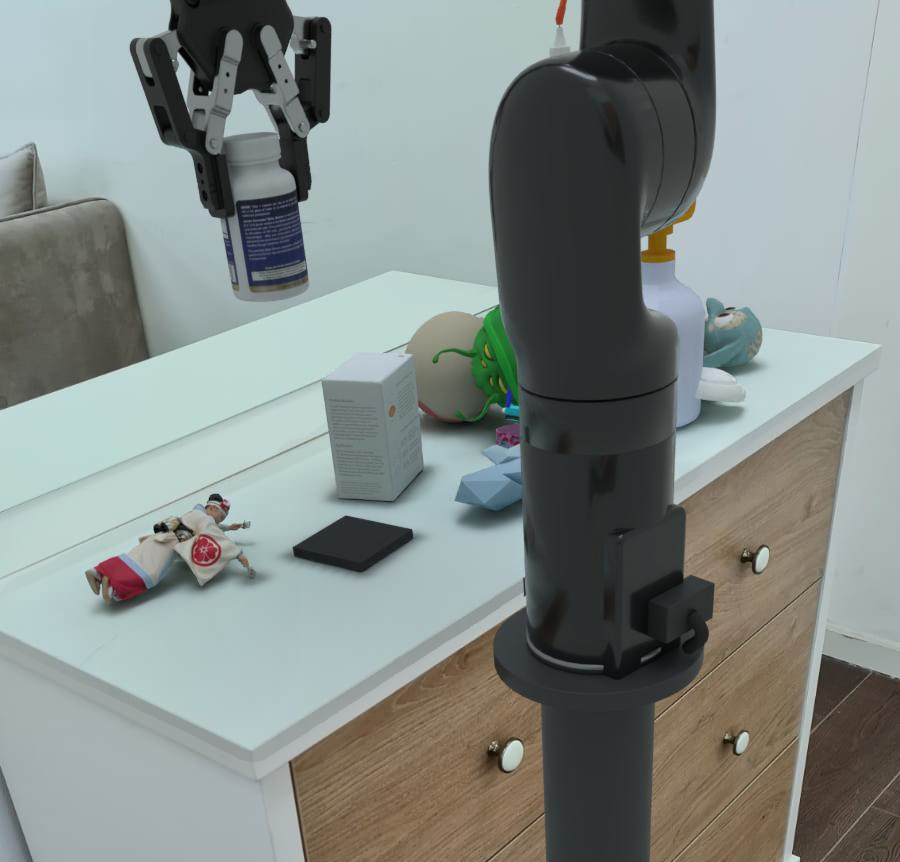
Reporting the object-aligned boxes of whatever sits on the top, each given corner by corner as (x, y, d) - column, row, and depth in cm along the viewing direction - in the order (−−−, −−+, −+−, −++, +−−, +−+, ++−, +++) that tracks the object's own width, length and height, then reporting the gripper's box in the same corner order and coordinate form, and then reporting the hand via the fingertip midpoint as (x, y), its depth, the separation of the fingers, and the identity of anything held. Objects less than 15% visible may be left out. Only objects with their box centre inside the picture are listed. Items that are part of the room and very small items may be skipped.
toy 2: (468, 258, 112) (423, 312, 121) (413, 344, 108) (370, 392, 117) (547, 328, 115) (497, 375, 124) (496, 414, 111) (448, 456, 120)
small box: (370, 466, 110) (356, 350, 104) (425, 469, 108) (415, 351, 102) (335, 499, 104) (318, 378, 98) (394, 502, 102) (380, 380, 96)
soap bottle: (587, 422, 114) (585, 136, 100) (643, 396, 119) (649, 120, 105) (662, 439, 109) (672, 140, 95) (718, 411, 114) (735, 123, 100)
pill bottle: (325, 286, 83) (305, 129, 77) (277, 306, 79) (252, 143, 74) (267, 281, 85) (243, 129, 80) (218, 300, 82) (189, 142, 76)
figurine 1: (152, 639, 86) (299, 545, 94) (79, 554, 86) (232, 467, 94) (140, 673, 92) (280, 581, 99) (72, 593, 92) (216, 507, 99)
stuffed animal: (659, 296, 130) (768, 276, 124) (669, 361, 133) (776, 346, 127) (630, 322, 122) (744, 303, 116) (641, 391, 126) (753, 376, 120)
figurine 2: (413, 325, 107) (478, 264, 99) (526, 303, 116) (594, 245, 107) (470, 454, 108) (538, 404, 100) (577, 423, 117) (648, 374, 108)
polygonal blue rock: (533, 497, 107) (533, 436, 105) (595, 503, 102) (597, 439, 100) (431, 513, 98) (429, 447, 96) (494, 520, 93) (494, 451, 91)
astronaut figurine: (701, 391, 122) (707, 360, 121) (759, 405, 112) (766, 371, 110) (625, 384, 120) (629, 353, 118) (677, 398, 109) (682, 363, 108)
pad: (413, 538, 96) (412, 528, 95) (362, 572, 91) (360, 562, 91) (346, 523, 99) (345, 514, 99) (293, 556, 95) (292, 547, 94)
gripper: (137, -106, 63) (199, 235, 73) (346, -118, 70) (377, 194, 80) (72, -96, 68) (139, 224, 78) (275, -108, 75) (312, 186, 85)
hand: (260, 207), depth 79 cm, fingers closed on pill bottle, 5 cm apart
